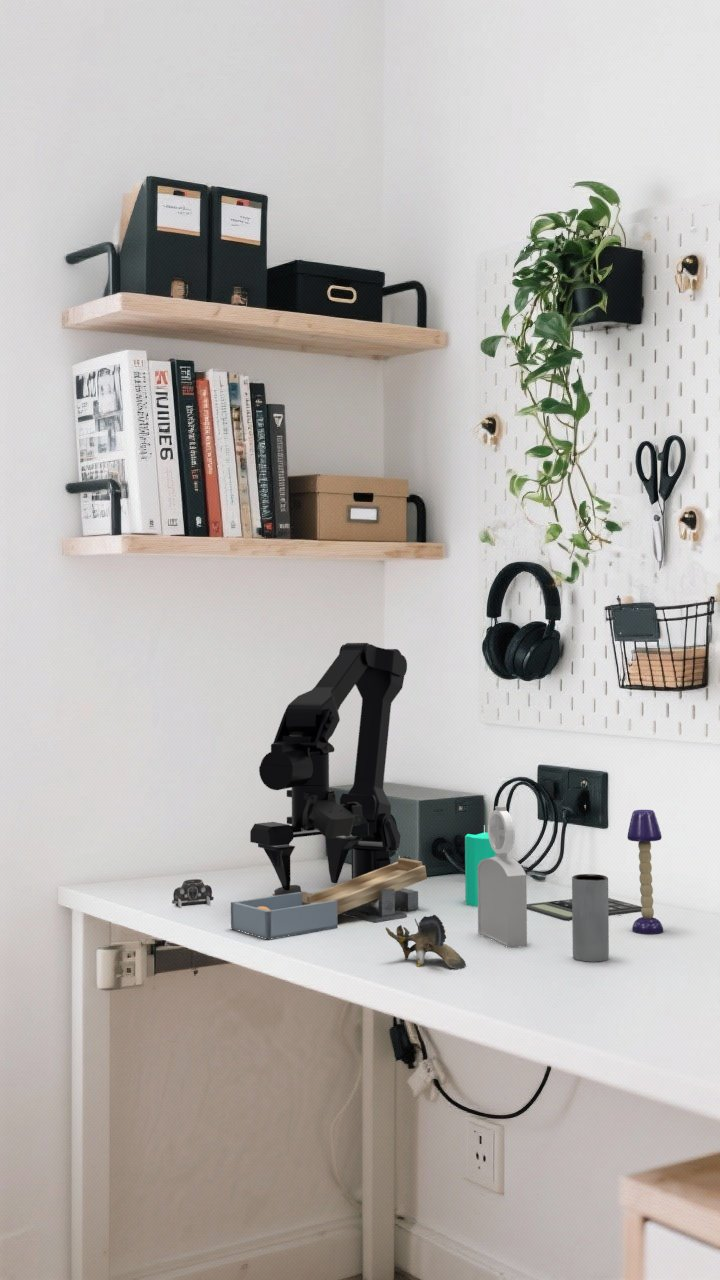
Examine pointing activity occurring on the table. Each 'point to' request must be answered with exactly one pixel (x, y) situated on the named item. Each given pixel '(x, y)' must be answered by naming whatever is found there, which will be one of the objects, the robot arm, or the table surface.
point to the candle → (475, 863)
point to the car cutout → (192, 893)
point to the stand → (386, 905)
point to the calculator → (564, 908)
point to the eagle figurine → (428, 942)
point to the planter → (590, 917)
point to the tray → (282, 916)
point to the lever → (365, 885)
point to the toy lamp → (645, 867)
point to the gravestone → (502, 887)
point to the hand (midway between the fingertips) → (310, 886)
